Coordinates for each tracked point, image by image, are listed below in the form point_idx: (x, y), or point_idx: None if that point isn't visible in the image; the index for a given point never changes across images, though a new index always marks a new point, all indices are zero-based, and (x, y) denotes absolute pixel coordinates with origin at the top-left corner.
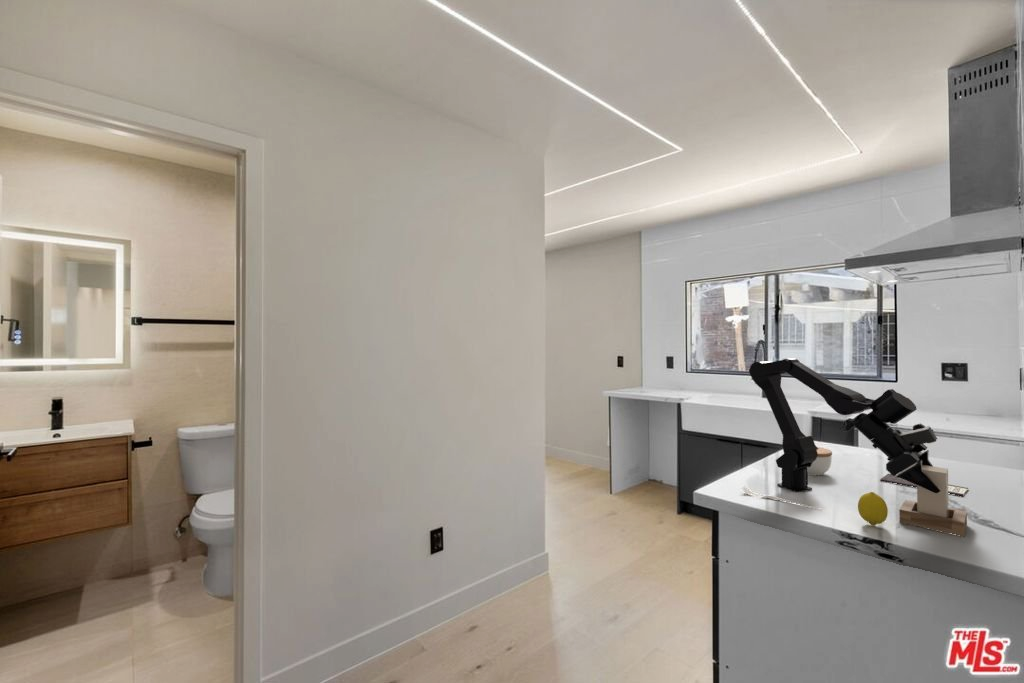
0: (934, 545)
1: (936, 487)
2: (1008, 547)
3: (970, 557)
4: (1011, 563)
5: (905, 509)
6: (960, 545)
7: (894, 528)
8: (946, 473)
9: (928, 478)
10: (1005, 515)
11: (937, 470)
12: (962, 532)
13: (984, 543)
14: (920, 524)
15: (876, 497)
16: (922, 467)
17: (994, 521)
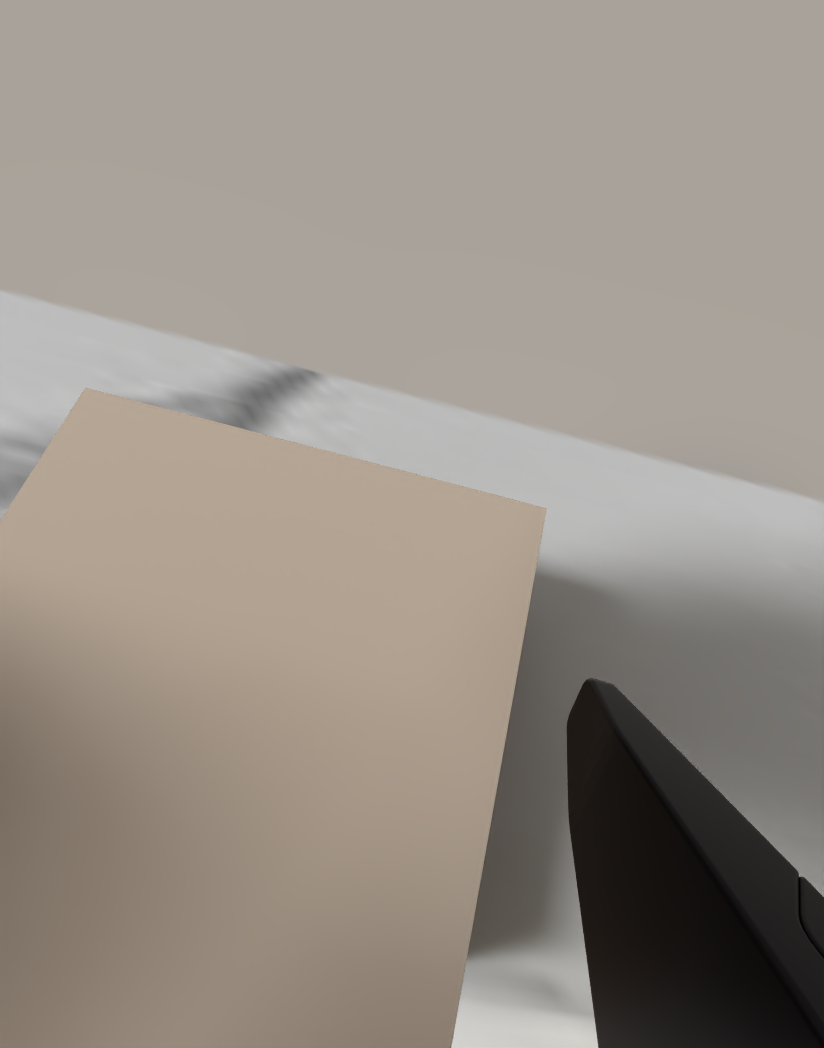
0: (771, 792)
1: (645, 725)
2: (536, 448)
3: (820, 643)
4: (756, 495)
5: None
6: (662, 648)
7: None
8: (436, 492)
9: (795, 878)
10: (3, 323)
11: (359, 615)
12: None
13: (545, 528)
14: None
15: None
16: (147, 948)
17: (134, 394)
